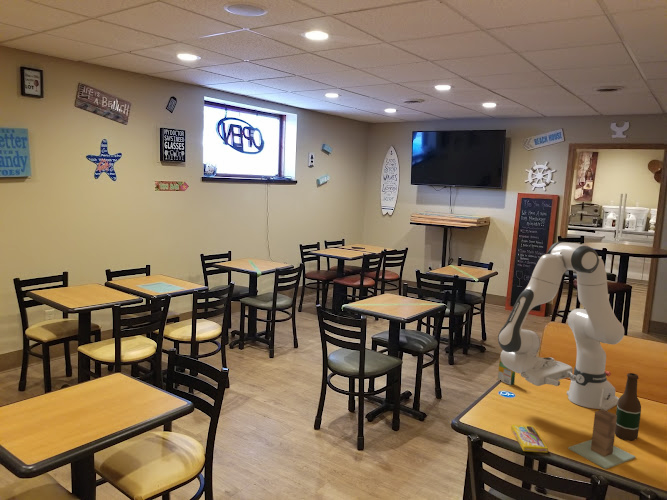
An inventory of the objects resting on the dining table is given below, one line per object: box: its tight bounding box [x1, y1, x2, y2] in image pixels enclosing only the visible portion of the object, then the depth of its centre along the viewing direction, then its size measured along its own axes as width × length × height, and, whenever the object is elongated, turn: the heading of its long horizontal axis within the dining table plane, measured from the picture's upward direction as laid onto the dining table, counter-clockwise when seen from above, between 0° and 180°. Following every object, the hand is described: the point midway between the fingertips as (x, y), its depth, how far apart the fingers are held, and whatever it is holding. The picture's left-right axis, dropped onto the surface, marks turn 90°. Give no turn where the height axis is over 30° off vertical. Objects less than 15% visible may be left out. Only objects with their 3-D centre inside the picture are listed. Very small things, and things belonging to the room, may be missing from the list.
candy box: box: [510, 424, 549, 454], centre depth 182 cm, size 16×2×8 cm
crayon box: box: [497, 356, 516, 386], centre depth 235 cm, size 7×3×12 cm, turn 34°
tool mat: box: [568, 439, 636, 470], centre depth 175 cm, size 16×14×1 cm
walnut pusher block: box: [591, 409, 617, 457], centre depth 174 cm, size 4×5×14 cm
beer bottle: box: [615, 372, 642, 442], centre depth 186 cm, size 8×8×24 cm
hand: (567, 381), depth 188 cm, fingers open, 8 cm apart
